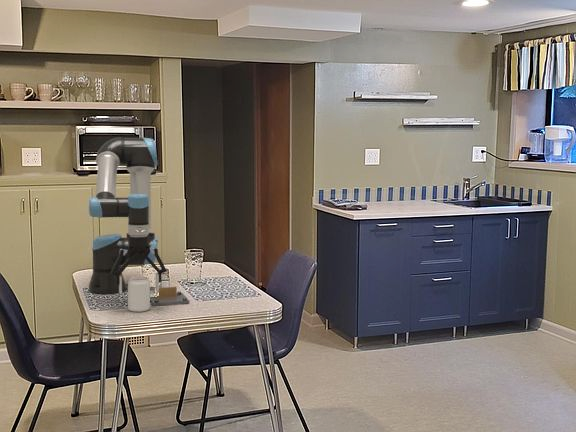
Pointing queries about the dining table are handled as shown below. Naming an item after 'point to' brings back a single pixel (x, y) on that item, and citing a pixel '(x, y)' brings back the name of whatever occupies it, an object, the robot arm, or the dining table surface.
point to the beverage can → (138, 294)
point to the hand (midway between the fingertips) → (139, 292)
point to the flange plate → (169, 297)
